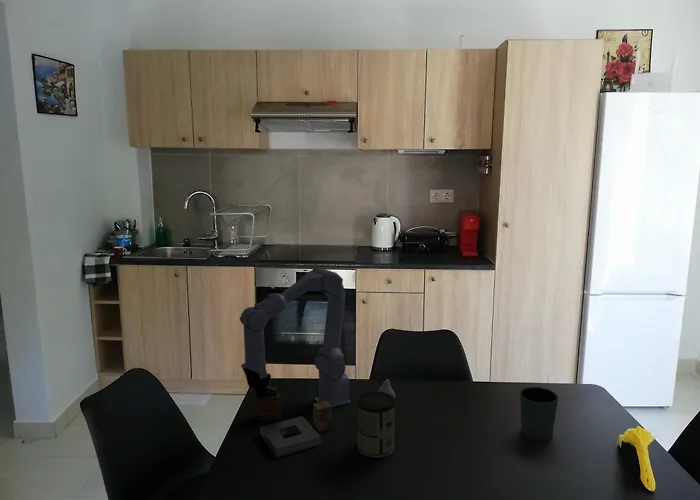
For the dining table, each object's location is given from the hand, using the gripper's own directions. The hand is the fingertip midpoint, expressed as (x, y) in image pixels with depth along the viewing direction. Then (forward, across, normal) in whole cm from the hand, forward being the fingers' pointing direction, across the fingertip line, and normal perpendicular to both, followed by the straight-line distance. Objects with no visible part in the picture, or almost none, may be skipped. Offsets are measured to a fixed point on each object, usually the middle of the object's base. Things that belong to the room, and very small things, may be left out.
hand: (256, 392), depth 155 cm
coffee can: (+10, +28, +24) cm, 38 cm away
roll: (+10, +14, +36) cm, 40 cm away
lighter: (+10, -2, +4) cm, 11 cm away
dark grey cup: (+11, +44, +68) cm, 82 cm away
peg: (+10, +11, +16) cm, 22 cm away
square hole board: (+10, +13, +5) cm, 17 cm away
